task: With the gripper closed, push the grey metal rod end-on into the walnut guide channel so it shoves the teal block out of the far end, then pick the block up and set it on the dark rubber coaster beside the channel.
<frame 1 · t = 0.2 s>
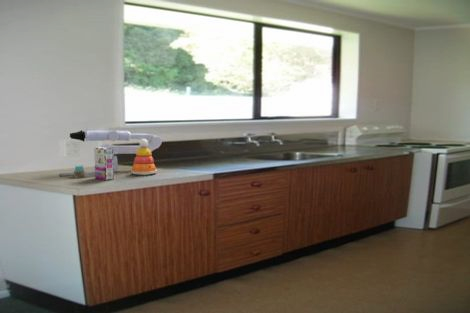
hand: (70, 136, 270), 21 cm above the worktop, tool horizontal, fingers open, 7 cm apart
coaster: (69, 174, 268), on the worktop
block: (79, 177, 260), on the worktop
rod: (90, 176, 262), on the worktop
stacking toy: (144, 174, 269), on the worktop
candy bar box: (104, 179, 253), on the worktop
channel: (79, 176, 260), on the worktop
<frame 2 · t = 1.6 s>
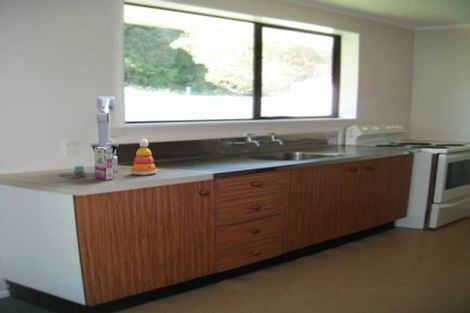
hand: (104, 160, 264), 8 cm above the worktop, tool pointing down, fingers open, 7 cm apart
nothing on the worktop moved.
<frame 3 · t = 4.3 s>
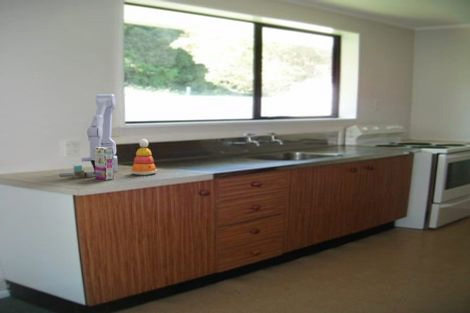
hand: (96, 174, 263), 1 cm above the worktop, tool pointing down, fingers closed
block: (78, 176, 260), on the worktop
rod: (88, 176, 262), on the worktop, touching gripper
everything else where it was.
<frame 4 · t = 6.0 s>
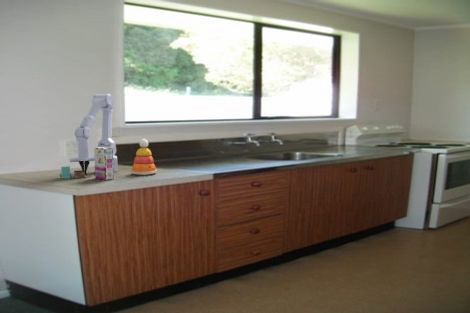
hand: (84, 174, 261), 1 cm above the worktop, tool pointing down, fingers closed
block: (66, 177, 258), on the worktop
rod: (76, 177, 260), on the worktop
everything else where it was.
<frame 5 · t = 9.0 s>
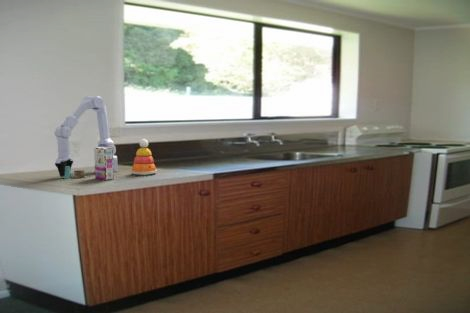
hand: (64, 175, 258), 1 cm above the worktop, tool pointing down, fingers open, 5 cm apart
block: (66, 177, 258), on the worktop, touching gripper
everything else where it was.
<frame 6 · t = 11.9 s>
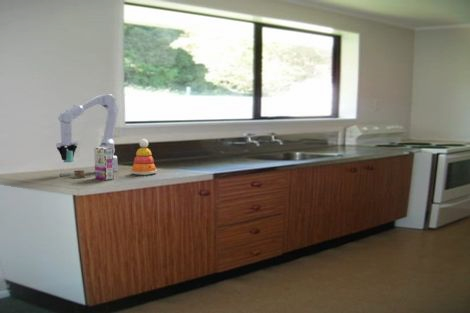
hand: (67, 159, 265), 9 cm above the worktop, tool pointing down, fingers closed on block, 5 cm apart
block: (68, 161, 265), point 7 cm above the worktop, touching gripper
everything else where it was.
when the fingers open (3 cm above the worktop, at t = 13.8 s): block drops 1 cm, resting on coaster.
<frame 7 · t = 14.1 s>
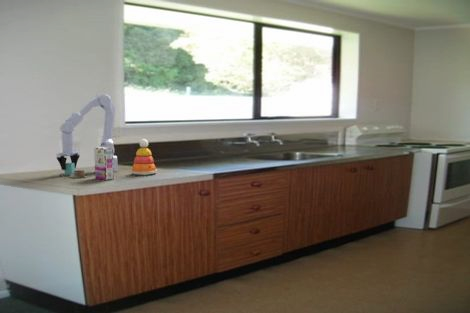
hand: (68, 169, 268), 3 cm above the worktop, tool pointing down, fingers open, 7 cm apart
block: (69, 174, 268), resting on coaster
everything else where it was.
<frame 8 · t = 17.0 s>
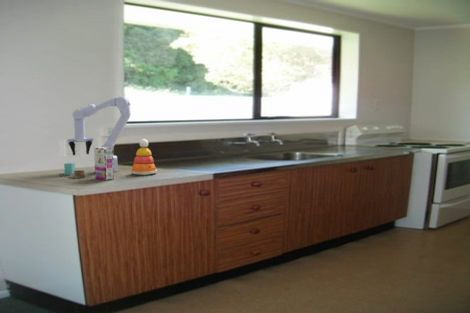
hand: (80, 154, 278), 10 cm above the worktop, tool pointing down, fingers open, 7 cm apart
nothing on the worktop moved.
at the end: block inside the target area on the coaster (0.5 cm from its centre), point 0.4 cm above the coaster's base; block tilted 0°; the gripper is holding nothing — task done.
